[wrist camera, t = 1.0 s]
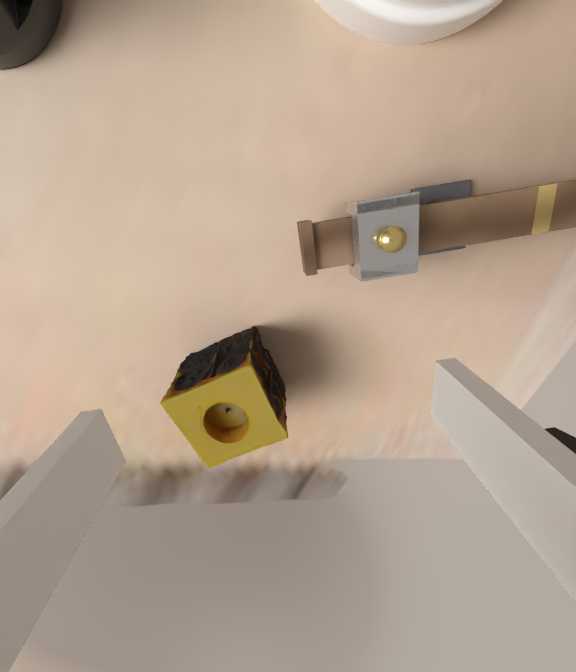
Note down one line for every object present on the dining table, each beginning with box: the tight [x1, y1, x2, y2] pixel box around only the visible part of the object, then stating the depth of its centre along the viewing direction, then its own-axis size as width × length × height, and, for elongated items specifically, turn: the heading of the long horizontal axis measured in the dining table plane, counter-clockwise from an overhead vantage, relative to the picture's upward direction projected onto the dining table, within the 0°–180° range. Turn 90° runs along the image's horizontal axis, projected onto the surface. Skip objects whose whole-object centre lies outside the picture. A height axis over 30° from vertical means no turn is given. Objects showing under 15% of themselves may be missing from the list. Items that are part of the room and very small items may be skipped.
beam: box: [297, 180, 576, 276], centre depth 29 cm, size 7×32×8 cm, turn 99°
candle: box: [160, 326, 288, 468], centre depth 34 cm, size 10×10×10 cm
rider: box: [345, 191, 420, 281], centre depth 26 cm, size 6×5×5 cm
